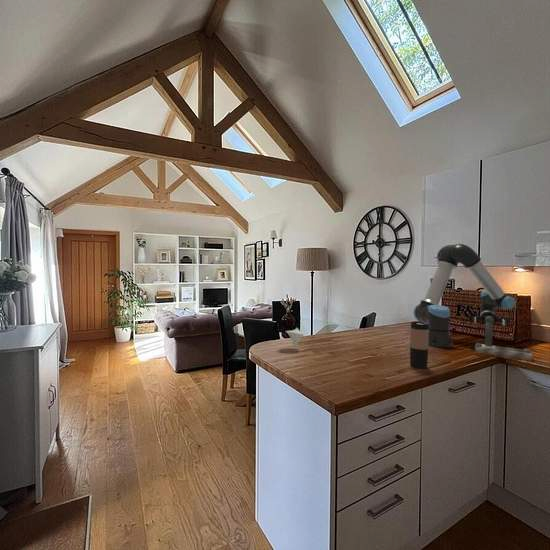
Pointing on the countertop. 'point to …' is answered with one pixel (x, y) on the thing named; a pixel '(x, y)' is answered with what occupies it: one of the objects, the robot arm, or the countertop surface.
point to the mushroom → (295, 336)
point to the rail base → (504, 352)
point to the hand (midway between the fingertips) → (489, 322)
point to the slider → (488, 332)
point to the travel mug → (419, 344)
